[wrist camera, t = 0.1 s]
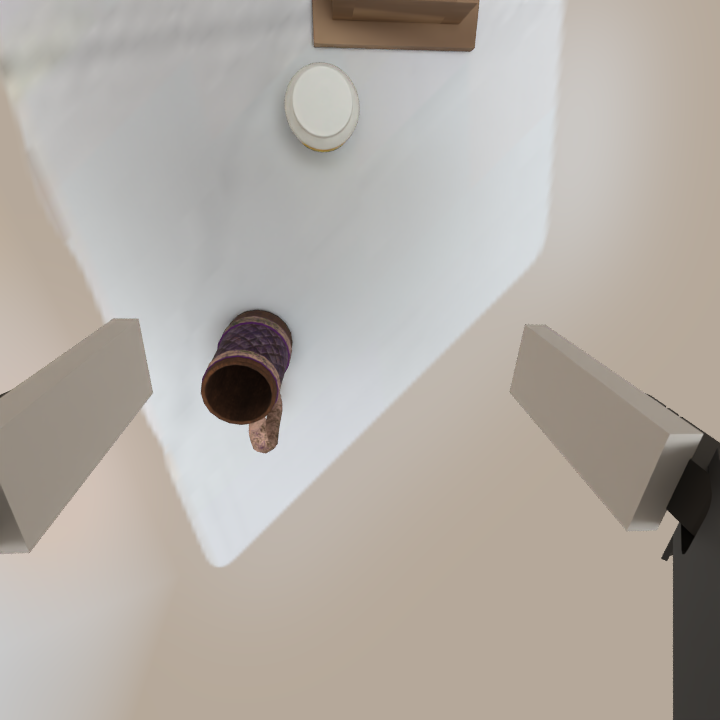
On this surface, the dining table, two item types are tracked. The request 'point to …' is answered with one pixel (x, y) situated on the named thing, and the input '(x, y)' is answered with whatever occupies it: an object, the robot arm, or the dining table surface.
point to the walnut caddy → (396, 24)
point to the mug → (250, 376)
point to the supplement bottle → (321, 106)
